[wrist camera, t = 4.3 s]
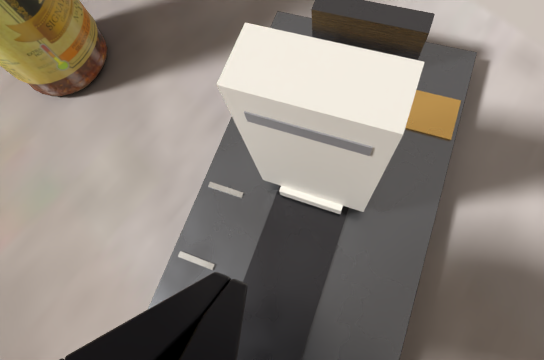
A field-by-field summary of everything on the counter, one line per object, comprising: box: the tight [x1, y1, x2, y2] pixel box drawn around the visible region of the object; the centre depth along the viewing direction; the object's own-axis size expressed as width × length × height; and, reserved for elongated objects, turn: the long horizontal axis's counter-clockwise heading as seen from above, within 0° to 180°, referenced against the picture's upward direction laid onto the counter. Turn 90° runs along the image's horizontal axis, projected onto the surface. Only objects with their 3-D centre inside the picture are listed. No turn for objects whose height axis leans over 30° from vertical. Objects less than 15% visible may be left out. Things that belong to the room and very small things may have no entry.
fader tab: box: [217, 23, 424, 214], centre depth 14 cm, size 3×5×9 cm, turn 70°
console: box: [148, 0, 477, 360], centre depth 18 cm, size 24×12×4 cm, turn 160°
